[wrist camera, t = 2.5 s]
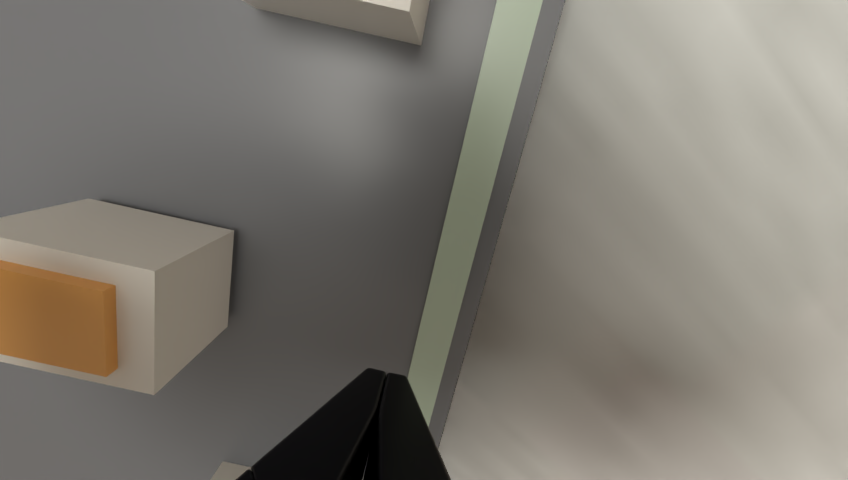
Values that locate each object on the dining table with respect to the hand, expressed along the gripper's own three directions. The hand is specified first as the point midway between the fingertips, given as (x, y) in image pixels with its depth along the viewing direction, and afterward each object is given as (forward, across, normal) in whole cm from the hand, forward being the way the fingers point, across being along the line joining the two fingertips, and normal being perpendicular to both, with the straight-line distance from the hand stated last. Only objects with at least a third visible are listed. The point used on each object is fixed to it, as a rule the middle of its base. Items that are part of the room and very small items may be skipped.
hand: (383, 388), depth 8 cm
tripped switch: (+3, +7, 0) cm, 8 cm away
